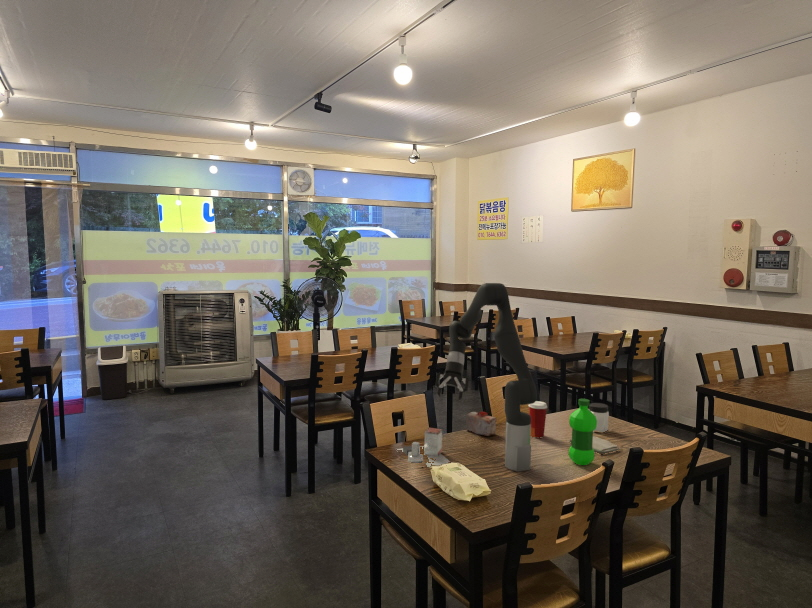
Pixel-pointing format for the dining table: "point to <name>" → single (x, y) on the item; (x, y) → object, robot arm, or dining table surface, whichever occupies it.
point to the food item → (481, 423)
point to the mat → (438, 461)
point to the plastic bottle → (582, 433)
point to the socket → (433, 442)
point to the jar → (600, 416)
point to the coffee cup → (537, 418)
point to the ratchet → (413, 453)
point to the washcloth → (602, 446)
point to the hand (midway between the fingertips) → (449, 398)
